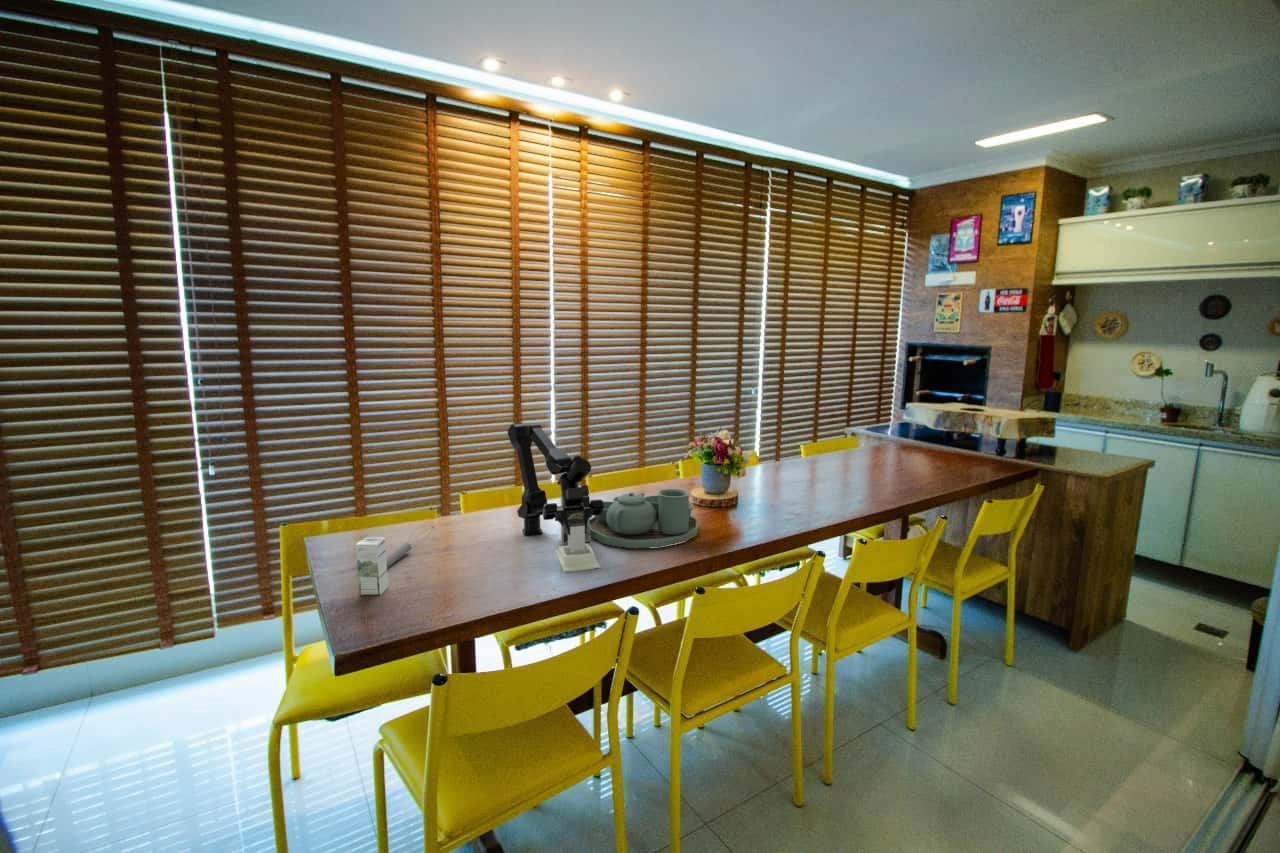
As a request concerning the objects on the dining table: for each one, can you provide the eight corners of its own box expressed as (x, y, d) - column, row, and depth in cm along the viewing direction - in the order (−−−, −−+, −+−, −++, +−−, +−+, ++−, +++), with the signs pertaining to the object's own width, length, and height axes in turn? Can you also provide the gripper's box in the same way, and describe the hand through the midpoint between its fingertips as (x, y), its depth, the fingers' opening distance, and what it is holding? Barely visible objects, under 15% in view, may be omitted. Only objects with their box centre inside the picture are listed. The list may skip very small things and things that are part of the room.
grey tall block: (568, 550, 178) (567, 519, 176) (582, 548, 179) (581, 518, 178) (570, 555, 174) (570, 523, 172) (585, 553, 175) (584, 522, 173)
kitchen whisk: (367, 573, 167) (366, 552, 166) (425, 536, 200) (424, 519, 199) (387, 574, 166) (386, 553, 165) (441, 537, 199) (440, 519, 198)
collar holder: (554, 551, 183) (554, 542, 183) (587, 548, 187) (587, 539, 186) (564, 572, 166) (564, 562, 166) (600, 568, 170) (600, 558, 169)
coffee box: (563, 545, 189) (562, 498, 187) (561, 539, 195) (560, 493, 193) (590, 543, 192) (589, 496, 189) (587, 537, 198) (586, 492, 196)
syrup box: (389, 586, 157) (385, 536, 155) (380, 595, 151) (376, 543, 149) (368, 587, 157) (364, 536, 155) (358, 596, 151) (354, 544, 149)
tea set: (696, 516, 223) (697, 475, 220) (698, 552, 183) (698, 503, 181) (596, 514, 226) (596, 473, 224) (577, 549, 186) (576, 500, 184)
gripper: (543, 478, 173) (549, 524, 164) (602, 474, 179) (611, 518, 170) (540, 497, 182) (546, 541, 173) (597, 492, 187) (605, 535, 178)
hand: (577, 533), depth 173 cm, fingers closed on grey tall block, 4 cm apart
